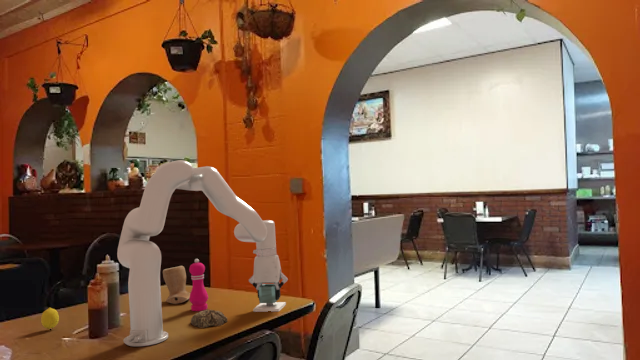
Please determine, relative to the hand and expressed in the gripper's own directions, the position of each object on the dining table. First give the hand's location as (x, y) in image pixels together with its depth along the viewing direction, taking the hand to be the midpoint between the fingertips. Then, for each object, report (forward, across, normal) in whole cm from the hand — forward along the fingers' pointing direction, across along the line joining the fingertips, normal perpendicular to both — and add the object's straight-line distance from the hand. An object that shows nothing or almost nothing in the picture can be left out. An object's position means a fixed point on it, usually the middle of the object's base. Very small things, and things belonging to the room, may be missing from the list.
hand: (269, 299), depth 181 cm
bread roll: (+4, -16, -18) cm, 25 cm away
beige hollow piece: (+4, -46, +15) cm, 48 cm away
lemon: (+4, -74, -26) cm, 78 cm away
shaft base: (+3, 0, 0) cm, 3 cm away
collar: (+1, 0, 0) cm, 1 cm away
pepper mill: (+4, -29, 0) cm, 29 cm away
